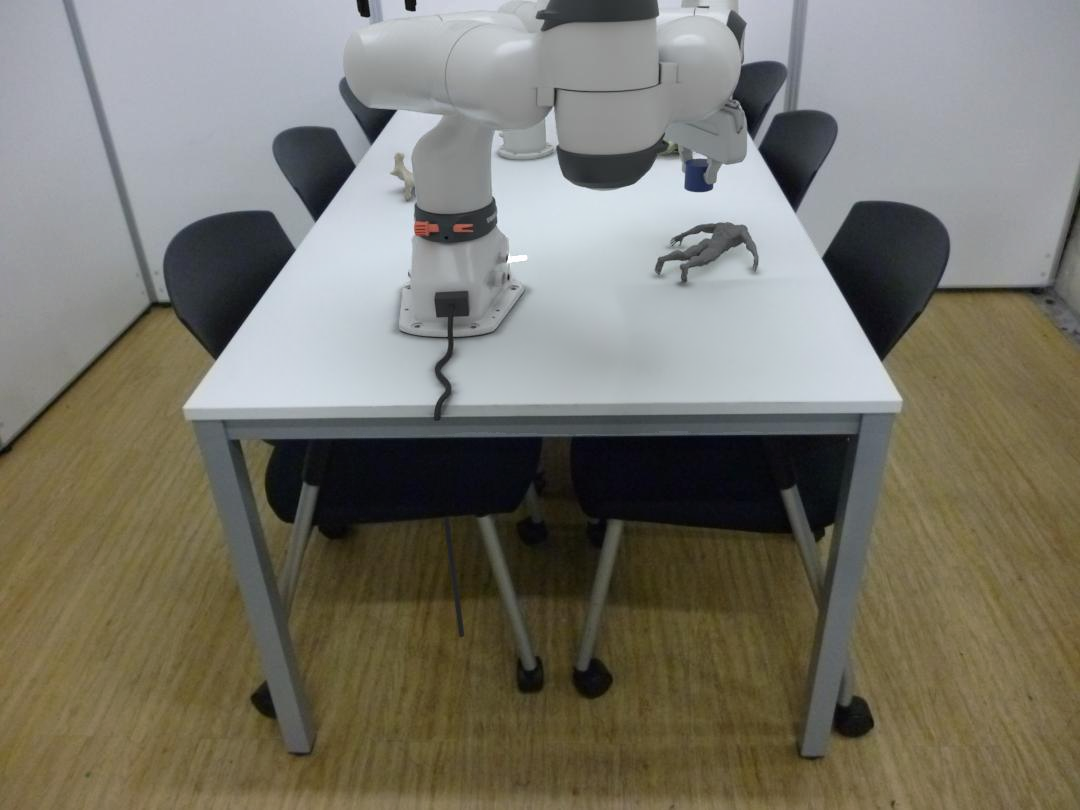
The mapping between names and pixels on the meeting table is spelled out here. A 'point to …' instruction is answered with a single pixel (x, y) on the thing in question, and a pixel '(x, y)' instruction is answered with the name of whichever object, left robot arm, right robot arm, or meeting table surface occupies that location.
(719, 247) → the figurine
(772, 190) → the meeting table surface
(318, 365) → the meeting table surface
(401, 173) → the bone
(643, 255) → the meeting table surface
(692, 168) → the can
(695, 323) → the meeting table surface
